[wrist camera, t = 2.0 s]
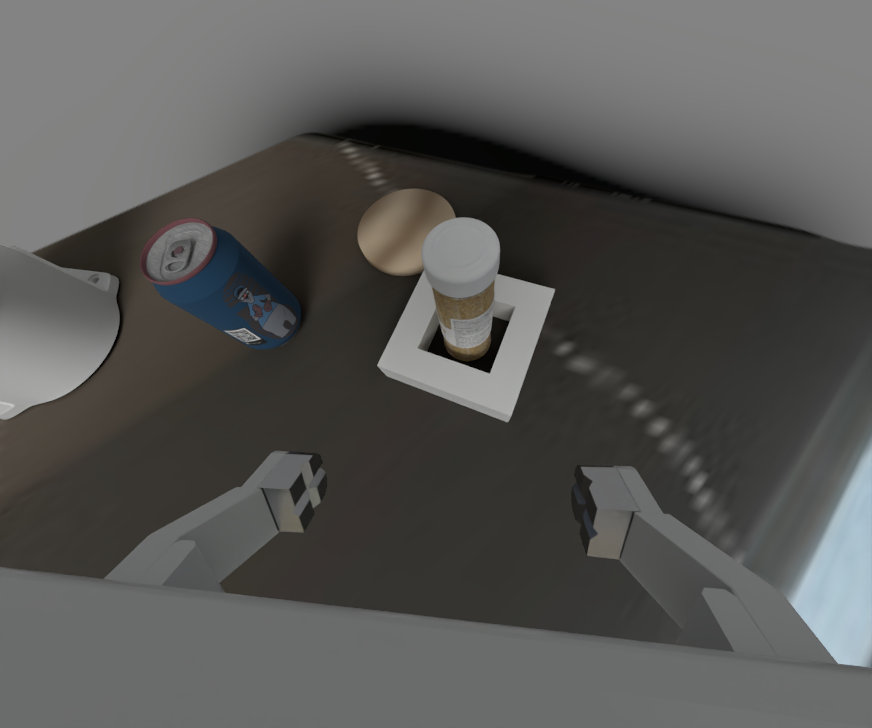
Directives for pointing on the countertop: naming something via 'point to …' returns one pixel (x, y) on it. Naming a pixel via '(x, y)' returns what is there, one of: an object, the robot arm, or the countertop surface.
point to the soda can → (220, 283)
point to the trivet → (401, 229)
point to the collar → (460, 381)
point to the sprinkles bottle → (463, 283)
